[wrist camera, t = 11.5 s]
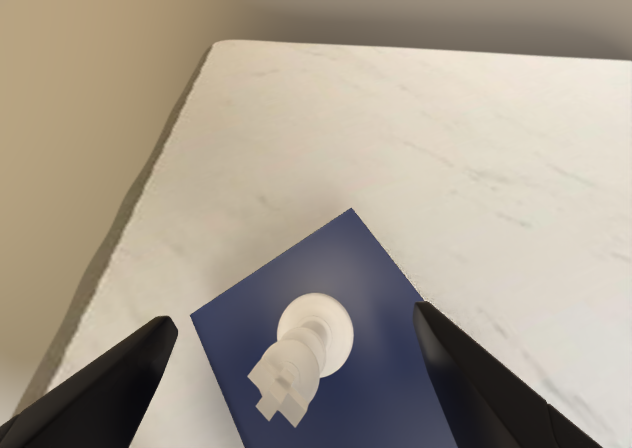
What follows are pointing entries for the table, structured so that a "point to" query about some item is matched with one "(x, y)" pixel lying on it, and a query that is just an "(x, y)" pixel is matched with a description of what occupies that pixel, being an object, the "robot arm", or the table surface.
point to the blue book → (362, 363)
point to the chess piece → (302, 355)
